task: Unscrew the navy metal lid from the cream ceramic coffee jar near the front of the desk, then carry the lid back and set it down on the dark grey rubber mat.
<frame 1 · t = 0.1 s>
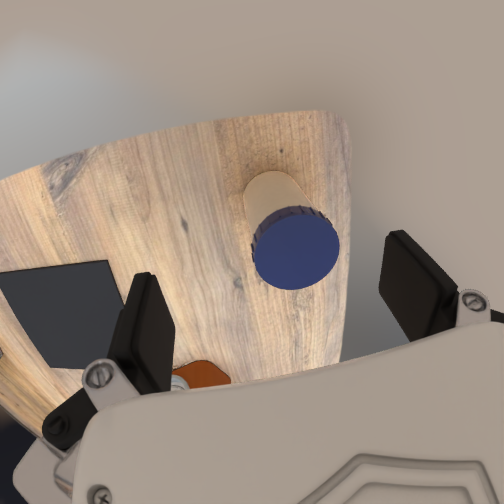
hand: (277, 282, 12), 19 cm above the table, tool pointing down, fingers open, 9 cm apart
lid: (297, 252, 22), point 10 cm above the table, screwed on, not yet turned
mat: (70, 324, 36), on the table
alarm clock: (183, 383, 45), on the table
jar: (272, 198, 30), on the table
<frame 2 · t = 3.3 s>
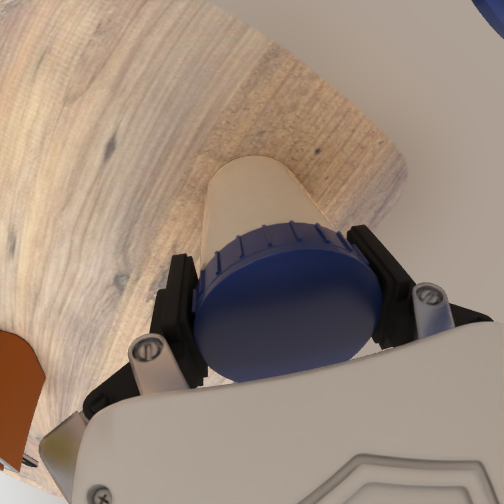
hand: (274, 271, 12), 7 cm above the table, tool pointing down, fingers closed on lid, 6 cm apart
lid: (291, 326, 10), point 10 cm above the table, screwed on, not yet turned, touching gripper
jar: (253, 202, 18), on the table
remote control: (17, 450, 43), on the table
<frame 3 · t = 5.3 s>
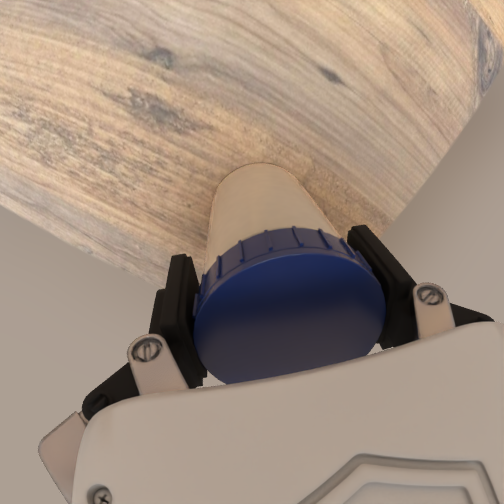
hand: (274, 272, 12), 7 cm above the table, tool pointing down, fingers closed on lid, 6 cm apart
lid: (292, 333, 9), point 11 cm above the table, turned 90° so far, risen 0.1 cm, still on its thread, touching gripper
jar: (260, 210, 19), on the table, touching gripper
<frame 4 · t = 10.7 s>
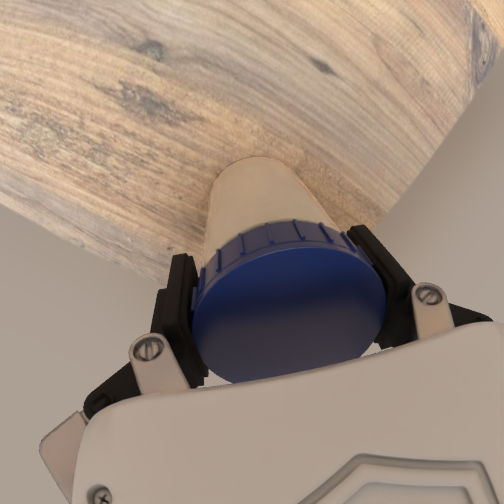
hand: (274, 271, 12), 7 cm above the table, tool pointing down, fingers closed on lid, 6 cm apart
lid: (292, 328, 9), point 11 cm above the table, turned 176° so far, risen 0.2 cm, still on its thread, touching gripper
jar: (257, 203, 19), on the table, touching gripper
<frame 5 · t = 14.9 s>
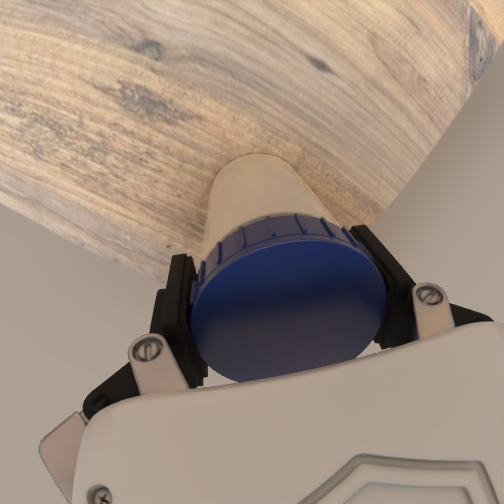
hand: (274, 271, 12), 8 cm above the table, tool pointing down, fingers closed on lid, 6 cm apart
lid: (292, 323, 9), point 11 cm above the table, turned 262° so far, risen 0.4 cm, still on its thread, touching gripper
jar: (257, 200, 19), on the table, touching gripper
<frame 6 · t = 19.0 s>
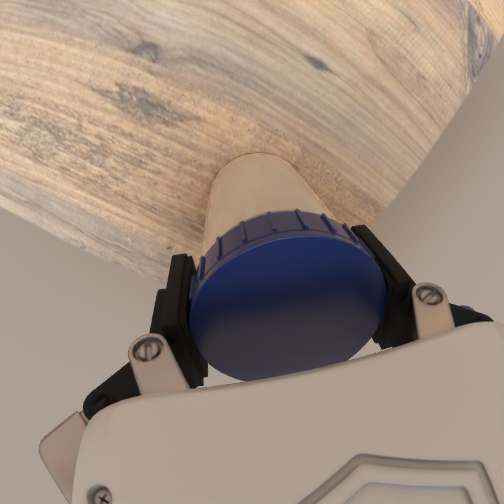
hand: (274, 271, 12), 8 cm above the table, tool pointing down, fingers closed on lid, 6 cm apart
lid: (291, 320, 9), point 11 cm above the table, off its thread, touching gripper
jar: (257, 200, 19), on the table
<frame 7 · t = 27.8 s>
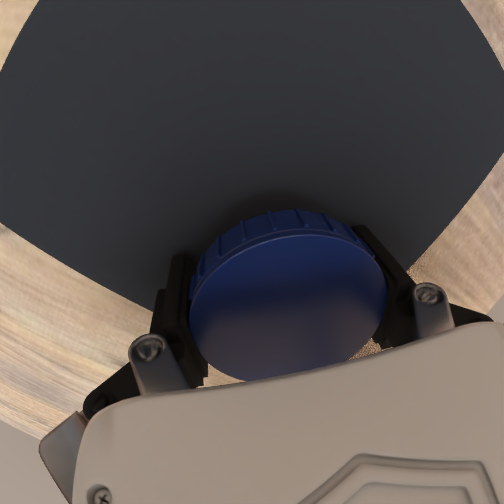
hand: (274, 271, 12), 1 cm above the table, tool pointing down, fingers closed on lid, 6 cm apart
lid: (291, 319, 9), point 4 cm above the table, off its thread, touching gripper
mat: (273, 102, 9), on the table
when the fingers open (1 cm above the table, at t = 34.8 s): lid drops 3 cm, resting on mat.
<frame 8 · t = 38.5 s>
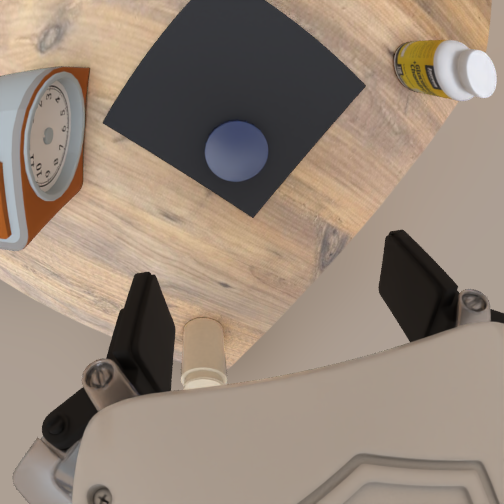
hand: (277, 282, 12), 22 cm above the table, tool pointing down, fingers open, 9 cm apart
lid: (236, 151, 29), point 2 cm above the table, off its thread, touching mat
mat: (235, 92, 27), on the table
alarm clock: (55, 133, 26), on the table
jar: (203, 331, 43), on the table
pill bottle: (412, 66, 27), on the table
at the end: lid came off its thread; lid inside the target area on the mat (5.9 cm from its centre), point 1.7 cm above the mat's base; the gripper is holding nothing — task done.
